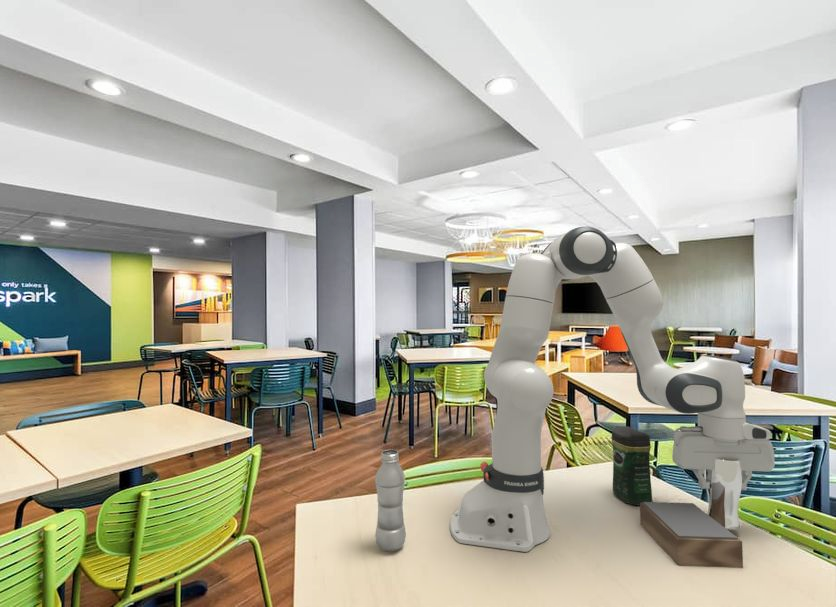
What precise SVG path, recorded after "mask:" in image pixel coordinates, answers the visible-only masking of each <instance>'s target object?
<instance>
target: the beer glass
mask: <svg viewBox="0 0 836 607" xmlns="http://www.w3.org/2000/svg"><path fill="white" fill-rule="evenodd" d="M703 477H704V479H706V480H707V481H709V482H710V485H709V486H710V489H705V490H706V494H707V498H708V499H707V501H708V507H707V508H708V510H707V513H706V514H708V515H709V516H710V517H711V518H713V519H714V520H715V521H717V522H718V523H719V524H721V525H722V526H723V527H724V528H726V529H727V530H728V531H730V530H732V531H734V530H735V531H736V530H739V529H740V528H741V523H740V518H739V510H738V509H739V503H740V498H741V492H742V490H741V488H742V468H741V459H739V460H736V461H729V460H722V459H717V458H715V467H714V470H705V474H703Z"/></svg>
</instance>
